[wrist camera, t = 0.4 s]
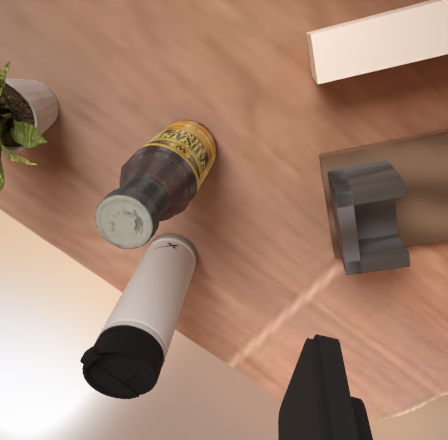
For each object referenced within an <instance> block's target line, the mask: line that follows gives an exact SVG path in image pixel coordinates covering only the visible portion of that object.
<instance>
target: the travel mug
mask: <svg viewBox="0 0 448 440" xmlns="http://www.w3.org/2000/svg"><path fill="white" fill-rule="evenodd" d="M196 263H197V253H196V250H195V248H194V247H193V245H192V244H191V243H190V242H189V241H188V240H187V239H185V238H183V237H181V236H179V235H175V234H165V235H161V236H158V237H157V238H155V239H154V240H153V241H152V242H151V244H150V246H149V247H148V249H147V251H146V253H145V254H144V256H143V258H142V260H141V262H140V263H139V265H138V267H137V269H136V270H135V272H134V274H133V276H132V278H131V279H130V281H129V283H128V285H127V286H126V288H125V290H124V292H123V294H122V295H121V297H120V299H119V301H118V302H117V304H116V306H115V308H114V309H113V311H112V313H111V315H110V317H109V318H108V320H107V322H106V324H105V326H104V327H103V329H102V331H101V333H100V335H99V336H98V338H97V341H96V343H95V345H94V346H93V347H91V348H90V349H88V350H87V351H86V352H85V353H84V355H83V357H82V358H81V363H83V364H84V365H83V375H84V378H85V380H86V381H87V383H88V384H89V385H90V386H91V387H92V388H94V389H95V390H97V391H98V392H100V393H102V394H104V395H107V396H110V397H114V398H120V399H131V398H136V397H139V395H141V394H145V393H147V392H149V391H150V390H151V389H153V387H154V386H155V384H156V383H157V380H158V377H159V374H160V371H161V368H162V366H163V363H164V361H165V357H166V354H167V352H168V348H169V346H170V342H171V339H172V336H173V333H174V330H175V327H176V324H177V321H178V318H179V315H180V312H181V309H182V306H183V303H184V300H185V297H186V294H187V291H188V288H189V284H190V281H191V278H192V275H193V272H194V269H195V266H196Z"/></svg>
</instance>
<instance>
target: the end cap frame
mask: <svg viewBox="0 0 448 440" xmlns="http://www.w3.org/2000/svg"><path fill="white" fill-rule="evenodd" d="M319 158H320V164H321V171H322V177H323V184H324V190H325V197H326V204H327V210H328V217H329V223H330V230H331V236H332V243H333V249H334V254H335V257H342V261H343V264H344V268H345V271H346V275H352V274H359V273H366V272H374V271H381V270H388V269H396V268H403V267H410V259H409V252H408V251H407V249H406V247H410V246H417V245H424V244H431V243H438V242H444V241H448V129H446V130H441V131H436V132H431V133H426V134H421V135H416V136H411V137H406V138H401V139H396V140H391V141H386V142H381V143H376V144H371V145H366V146H360V147H355V148H350V149H345V150H340V151H335V152H330V153H325V154H320V155H319Z"/></svg>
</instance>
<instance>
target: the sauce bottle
mask: <svg viewBox="0 0 448 440" xmlns="http://www.w3.org/2000/svg"><path fill="white" fill-rule="evenodd" d="M215 157H216V141H215V139H214V137H213V135H212V134H211V132H210V131H209V129H208V128H206V127H205V126H204V125H203V124H201V123H198V122H195V121H189V120H182V121H178V122H175V123H172V124H171V125H169V126H168V127H167V128H165V129H164V130H163V131H162V132H160V133H159V134H158V135H157V136H155V137H154V138H153V139H151V140H150V141H149V142H148V143H147V144H145V145H144V146H143V147H141V148H140V149H139V150H138V151H137V152H136V153H135V154H134V155H133V156H132V157H131V158H130V159H129V160H128V161H127V162H126V163H125V164H124V165H123V166H122V168H121V176H120V188H119V189H116V190H114V191H112V192H111V193H109V194H108V195H107V196H106V197H105V198H104V199H103V200H102V201H101V203H100V204H99V205H98V207H97V210H96V217H95V219H96V223H97V228H98V229H99V231H100V233H101V235H102V236H103V237H104V238H105V239H106V240H107V241H108V242H110V243H112V244H114V245H115V246H117V247H119V248H123V249H133V248H138V247H141V246H143V245H145V244H146V243H147V242H148V241H149V240H150V239H151V238H152V236H153V235H154V234H155V232H156V230H157V229H158V226H159V221H163V220H167V219H170V218H171V217H173V216H174V215H177V214H179V213H180V212H183V211H184V210H185V208H186V207H187V205H188V203H189V202H190V201H191V200H192V199H193V197H194V196H195V194H196V193H197V191H198V189H199V187H200V186H201V184H202V182H203V181H204V179H205V177H206V176H207V174H208V172H209V170H210V169H211V167H212V165H213V163H214V161H215Z"/></svg>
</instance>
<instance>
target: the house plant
mask: <svg viewBox="0 0 448 440" xmlns="http://www.w3.org/2000/svg"><path fill="white" fill-rule="evenodd" d="M9 63H10V62H9ZM9 63H7V64H6V65H5V66H4V67H3V68H2V69H1V70H0V190H1V189H2V188H3V187H4V173H3V168H2V163H1V151H3V152H4V154H5V156H6V157H7V158H8V159H9V160H12V161H15V162H21V163H24V164H28V165H39V164H37V163H35V162H32V161H30V160H27V159H25V158H23V157H21V156H18V155H16V154H14V153H13V152H18V151H21V150H24V149H25V148H27V147H28V148H33V147H36V146H38V145H40V144H44V143H49V142H47V141H46V140H44V138H43V137H42V134H43V133H44V132H45V131H46V130H47V129H48V128H49V127H50V126H51V125H52V124H53V123H54V122H55V121H56V119H57V116H58V111H59V107H58V102H57V99H56V97H55V95H54V94H53V92H52V91H51V90H50V89H49V88H48V87H47V86H46V85H44V84H43V83H41V82H39V81H35V80H24V79H9V78H6V74H7V72H8V70H9Z"/></svg>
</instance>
